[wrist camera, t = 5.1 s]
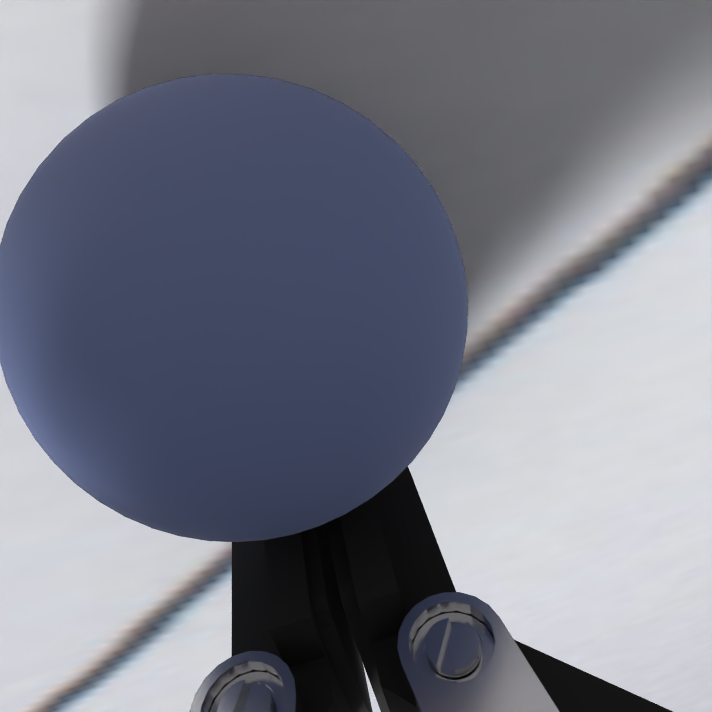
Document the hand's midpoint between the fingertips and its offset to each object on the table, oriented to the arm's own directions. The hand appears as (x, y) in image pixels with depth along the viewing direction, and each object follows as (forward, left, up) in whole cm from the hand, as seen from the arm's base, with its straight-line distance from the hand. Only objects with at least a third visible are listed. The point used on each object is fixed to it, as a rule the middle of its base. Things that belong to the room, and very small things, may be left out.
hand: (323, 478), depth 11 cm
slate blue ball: (+4, +2, +2) cm, 5 cm away
